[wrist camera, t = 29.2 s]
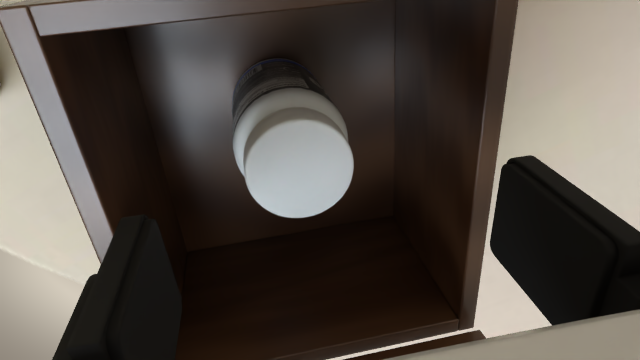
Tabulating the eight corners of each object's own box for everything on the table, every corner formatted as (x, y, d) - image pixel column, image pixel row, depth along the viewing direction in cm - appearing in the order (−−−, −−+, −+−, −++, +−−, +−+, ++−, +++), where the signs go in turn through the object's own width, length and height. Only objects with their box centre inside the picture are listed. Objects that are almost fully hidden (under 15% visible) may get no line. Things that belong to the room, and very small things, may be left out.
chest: (96, -17, 19) (-8, 8, 11) (405, -46, 21) (526, -45, 13) (178, 255, 27) (155, 397, 18) (400, 216, 29) (474, 328, 20)
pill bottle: (328, 130, 24) (373, 209, 17) (246, 152, 24) (255, 243, 16) (311, 45, 21) (353, 93, 14) (219, 68, 21) (215, 130, 14)
